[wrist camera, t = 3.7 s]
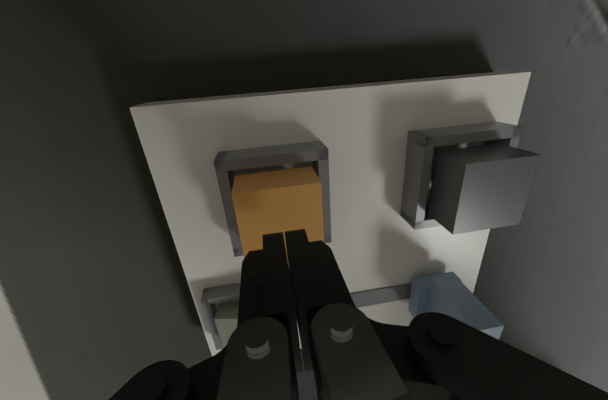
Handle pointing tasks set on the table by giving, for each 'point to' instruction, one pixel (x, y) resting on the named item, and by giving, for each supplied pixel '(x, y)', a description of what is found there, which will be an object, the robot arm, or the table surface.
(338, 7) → the table surface
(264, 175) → the orange push button
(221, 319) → the olive rocker
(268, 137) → the control panel
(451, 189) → the gray push button
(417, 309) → the blue paddle
